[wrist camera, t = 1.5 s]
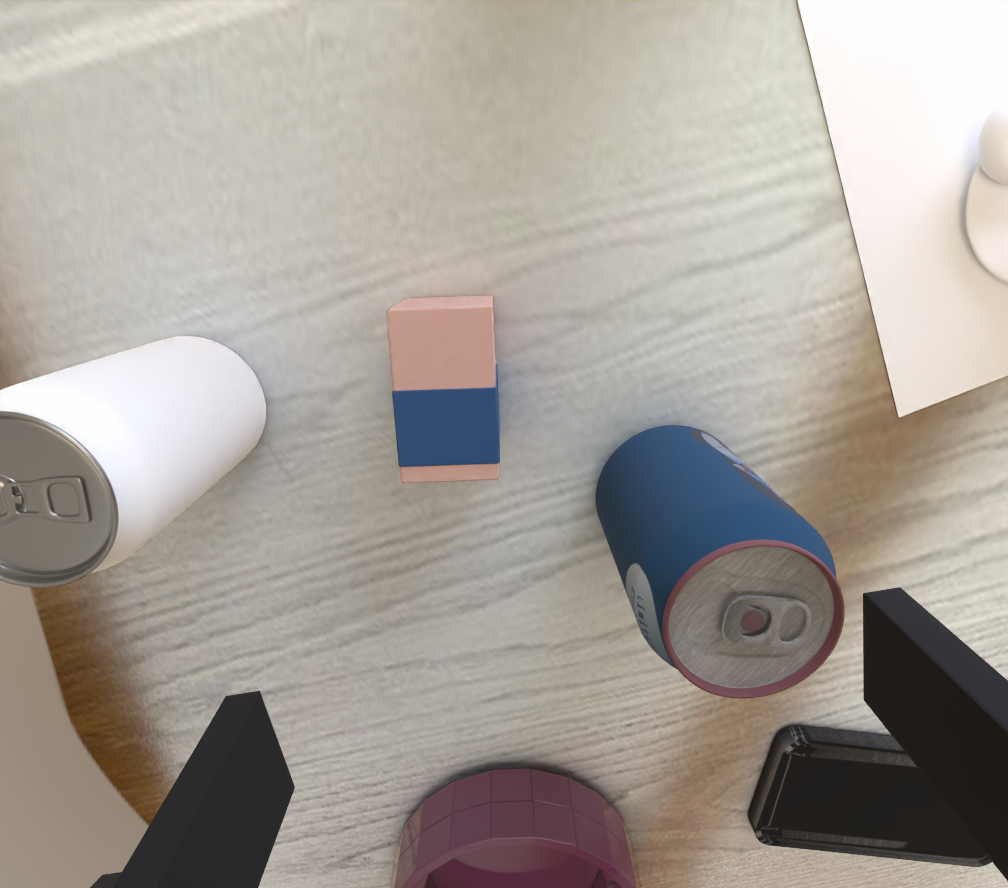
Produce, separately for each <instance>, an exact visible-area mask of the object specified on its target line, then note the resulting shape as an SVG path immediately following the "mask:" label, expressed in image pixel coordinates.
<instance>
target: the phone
mask: <svg viewBox="0 0 1008 888" xmlns="http://www.w3.org/2000/svg"><path fill="white" fill-rule="evenodd" d="M748 818H749V821H750V824H751V826H752V828H753V831H754V833H755V835H756V838H757V839H758V840H759V841H760V842H762V843H763V844H766V845H772V846H781V847H791V848H800V849H810V850H820V851H829V852H839V853H848V854H858V855H867V856H876V857H886V858H895V859H905V860H914V861H924V862H933V863H943V864H952V865H961V866H971V867H980V866H985V865H987V864H989V863H991V862H992V860H991V859H990V858H989V857H988V855H987V854H986V853H985V852H984V850H983V849H982V848H981V847H980V845H979V844H978V843H977V842H976V840H975V839H974V838H973V837H972V835H971V834H970V833H969V832H968V830H967V829H966V828H965V827H964V825H963V824H962V823H961V821H960V820H959V819H958V818H957V816H956V815H955V814H954V813H953V811H952V810H951V809H950V808H949V806H948V805H947V804H946V803H945V801H944V800H943V799H942V798H941V796H940V795H939V794H938V793H937V791H936V790H935V789H934V788H933V786H932V785H931V784H930V782H929V781H928V780H927V779H926V777H925V776H924V775H923V774H922V772H921V771H920V770H919V769H918V767H917V766H916V765H915V764H914V762H913V761H912V760H911V759H910V757H909V756H908V755H907V754H906V752H905V751H904V750H903V748H902V747H901V746H900V745H899V743H898V742H897V741H896V740H895V738H894V737H893V736H884V735H875V734H867V733H858V732H850V731H841V730H833V729H824V728H815V727H807V726H790V727H787V728H785V729H783V730H781V731H780V732H779V733H778V734H777V735H776V737H775V739H774V741H773V744H772V747H771V750H770V753H769V756H768V759H767V762H766V764H765V767H764V770H763V773H762V776H761V779H760V782H759V785H758V787H757V790H756V793H755V796H754V799H753V802H752V805H751V808H750V810H749V815H748Z"/></svg>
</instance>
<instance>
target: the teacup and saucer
mask: <svg viewBox="0 0 1008 888" xmlns="http://www.w3.org/2000/svg"><path fill="white" fill-rule="evenodd" d="M977 158H978V162H977V164H976V167H975V169H974V171H973V174H972V177H971V179H970V183H969V186H968V190H967V195H966V201H965V227H966V233H967V237H968V240H969V243H970V246H971V248H972V250H973V252H974V254H975V256H976V258H977V259H978V261H979V262H980V263H981V264H982V266H983V267H984V268H985V269H986V270H987V271H988V272H989V273H991V274H992V275H993V276H994V277H996V278H997V279H999V280H1001V281H1003V282H1005V283H1007V284H1008V95H1007V96H1006V97H1005V98H1003V99H1002V100H1001V101H1000V102H999V103H998V104H997V105H996V106H995V107H994V108H993V110H992V111H991V112H990V114H989V115H988V116H987V118H986V120H985V122H984V124H983V126H982V128H981V130H980V133H979V137H978V142H977Z"/></svg>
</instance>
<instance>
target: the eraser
mask: <svg viewBox="0 0 1008 888" xmlns="http://www.w3.org/2000/svg"><path fill="white" fill-rule="evenodd" d="M387 322H388V334H389V345H390V356H391V367H392V378H393V392H392V395H393V406H394V417H395V428H396V439H397V450H398V461H399V466H400V468H401V479H402V483H411V482H440V481H469V480H497V479H499V462H500V444H499V406H498V379H497V364H496V354H495V328H494V301H493V295H479V296H450V297H421V298H405V299H403V300H402V301H400V302H399V303H397V304H396V305H394V306H393V307H391V308H390V309H388V310H387Z"/></svg>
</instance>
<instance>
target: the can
mask: <svg viewBox="0 0 1008 888" xmlns="http://www.w3.org/2000/svg"><path fill="white" fill-rule="evenodd" d="M265 422H266V402H265V397H264V394H263V390H262V388H261V385H260V383H259V381H258V379H257V377H256V376H255V374H254V372H253V371H252V370H251V368H250V367H249V366H248V365H247V364H246V362H245V361H244V360H243V359H242V358H240V357H239V356H238V355H237V354H236V353H234V352H233V351H232V350H230V349H229V348H227V347H225V346H223V345H221V344H219V343H217V342H215V341H212V340H209V339H206V338H201V337H195V336H178V337H172V338H167V339H163V340H160V341H156V342H153V343H149V344H146V345H142V346H139V347H136V348H132V349H129V350H126V351H122V352H119V353H116V354H112V355H109V356H106V357H102V358H99V359H96V360H93V361H89V362H86V363H83V364H80V365H76V366H73V367H70V368H67V369H63V370H60V371H57V372H54V373H50V374H47V375H44V376H41V377H38V378H34V379H31V380H28V381H25V382H22V383H19V384H16V385H13V386H10V387H7V388H4V389H2V390H0V580H1V581H4V582H7V583H11V584H15V585H19V586H25V587H37V588H44V587H55V586H61V585H65V584H68V583H71V582H74V581H77V580H79V579H81V578H83V577H85V576H86V575H88V574H89V573H93V572H97V571H100V570H104V569H107V568H109V567H112V566H114V565H116V564H118V563H120V562H122V561H123V560H125V559H126V558H128V557H130V556H131V555H132V554H134V553H135V552H136V551H138V550H139V549H140V548H141V547H143V546H144V545H145V544H146V543H147V542H149V541H150V540H151V539H152V538H153V537H154V536H156V535H157V534H158V533H159V532H160V531H161V530H163V529H164V528H165V527H166V526H167V525H168V524H170V523H171V522H172V521H173V520H174V519H175V518H177V517H178V516H179V515H180V514H181V513H182V512H183V511H185V510H186V509H187V508H188V507H189V506H190V505H192V504H193V503H194V502H195V501H196V500H197V499H198V498H200V497H201V496H202V495H203V494H204V493H205V492H206V491H208V490H209V489H210V488H211V487H212V486H213V485H214V484H216V483H217V482H218V481H219V480H220V479H221V478H222V477H224V476H225V475H226V474H227V473H228V472H229V471H230V470H231V469H233V468H234V467H235V466H236V465H237V464H238V463H239V462H240V461H241V460H243V459H244V458H245V457H246V456H247V455H248V454H249V453H250V452H251V451H252V450H253V448H254V447H255V446H256V444H257V443H258V441H259V439H260V438H261V435H262V433H263V430H264V427H265Z"/></svg>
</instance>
